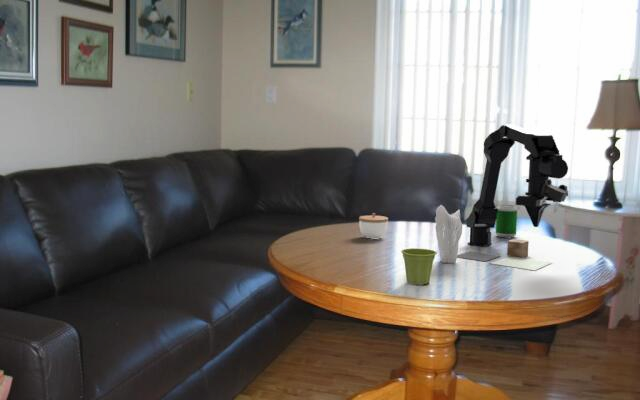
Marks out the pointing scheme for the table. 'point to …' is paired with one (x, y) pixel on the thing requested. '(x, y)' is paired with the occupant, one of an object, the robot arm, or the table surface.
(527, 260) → the mat
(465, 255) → the mat
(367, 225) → the lidded jar
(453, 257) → the shell sculpture
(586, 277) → the table surface
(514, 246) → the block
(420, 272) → the plant pot
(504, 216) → the soda can
